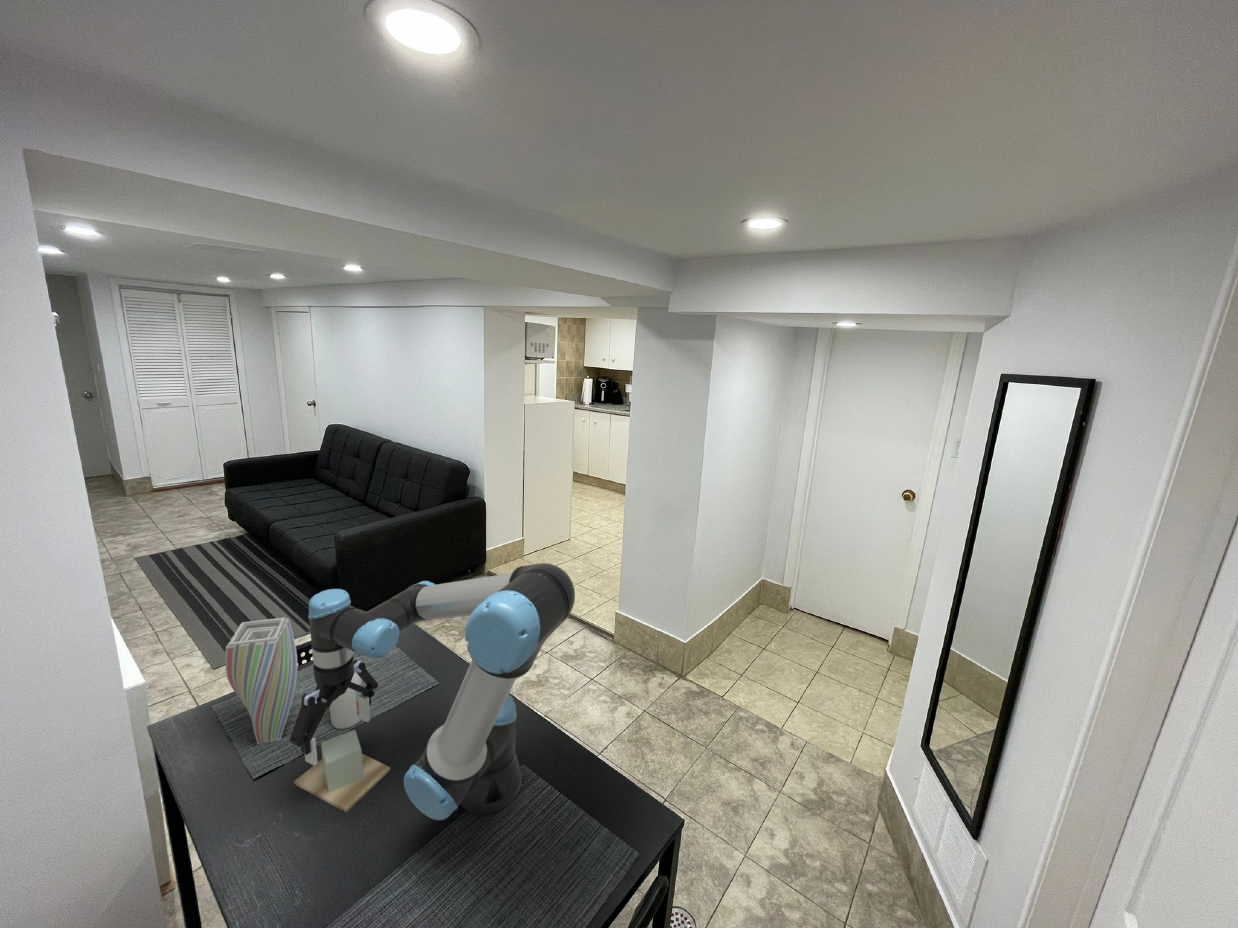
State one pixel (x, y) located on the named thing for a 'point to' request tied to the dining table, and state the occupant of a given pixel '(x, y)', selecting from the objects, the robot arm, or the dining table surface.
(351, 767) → the pale green block
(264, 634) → the vase
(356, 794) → the post base
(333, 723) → the milk bottle
